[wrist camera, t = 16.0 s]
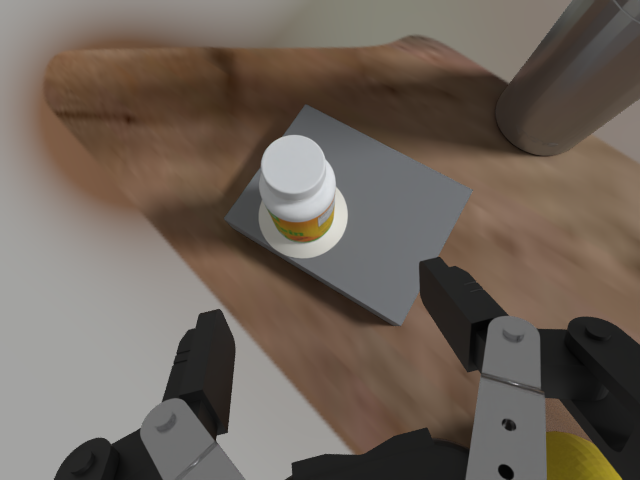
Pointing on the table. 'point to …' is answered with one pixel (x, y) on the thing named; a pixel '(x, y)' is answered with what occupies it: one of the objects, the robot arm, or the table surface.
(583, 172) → the table surface
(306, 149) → the supplement bottle
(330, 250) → the plinth
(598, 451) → the lemon
